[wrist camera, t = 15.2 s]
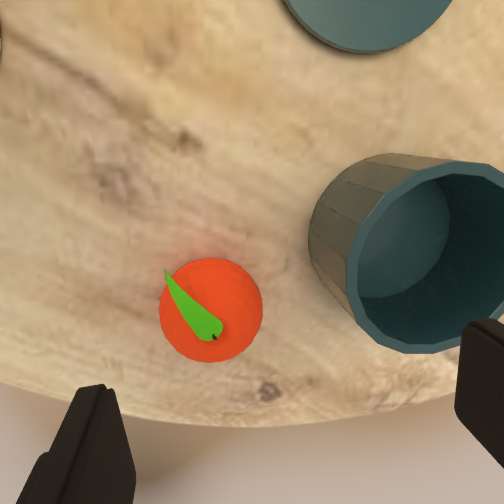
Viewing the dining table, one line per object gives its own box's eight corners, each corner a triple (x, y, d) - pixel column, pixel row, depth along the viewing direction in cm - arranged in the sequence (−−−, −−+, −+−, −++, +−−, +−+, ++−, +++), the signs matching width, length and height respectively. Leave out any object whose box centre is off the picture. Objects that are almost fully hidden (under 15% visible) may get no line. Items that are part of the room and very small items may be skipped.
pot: (309, 312, 30) (345, 368, 23) (306, 160, 26) (347, 170, 19) (445, 293, 31) (518, 340, 24) (461, 146, 27) (553, 151, 20)
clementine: (132, 276, 27) (112, 324, 20) (204, 215, 26) (207, 244, 19) (205, 344, 29) (208, 407, 23) (272, 290, 29) (295, 338, 22)
